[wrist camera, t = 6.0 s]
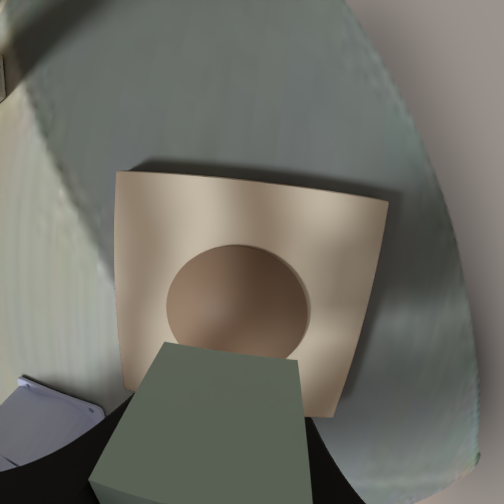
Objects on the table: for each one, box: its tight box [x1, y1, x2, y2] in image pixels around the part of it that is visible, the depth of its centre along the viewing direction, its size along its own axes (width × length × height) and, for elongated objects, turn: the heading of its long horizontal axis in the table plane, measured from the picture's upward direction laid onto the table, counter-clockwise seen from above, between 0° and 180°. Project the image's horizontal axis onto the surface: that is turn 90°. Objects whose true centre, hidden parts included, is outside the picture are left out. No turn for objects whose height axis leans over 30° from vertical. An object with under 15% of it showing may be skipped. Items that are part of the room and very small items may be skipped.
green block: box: [88, 341, 313, 504], centre depth 8 cm, size 4×4×6 cm
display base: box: [114, 170, 389, 418], centre depth 18 cm, size 14×14×2 cm
